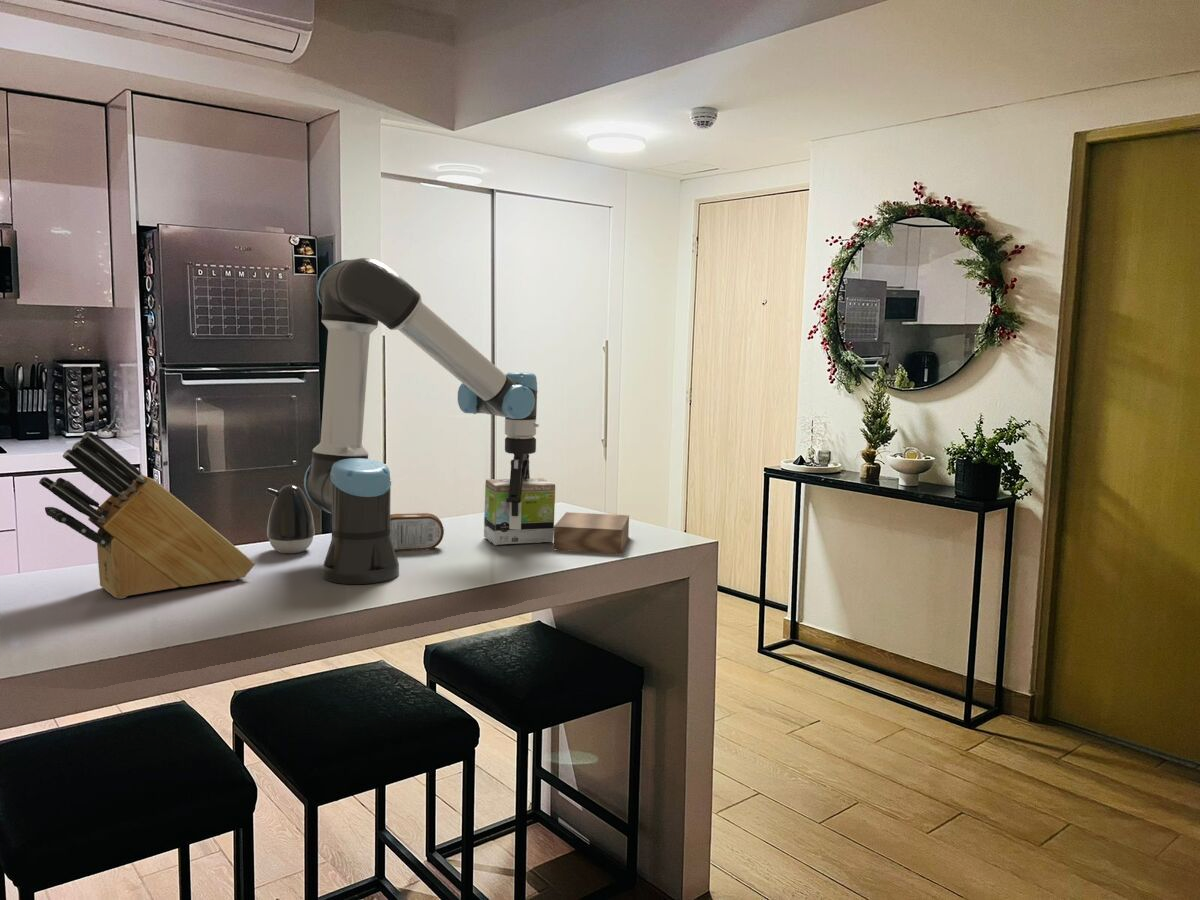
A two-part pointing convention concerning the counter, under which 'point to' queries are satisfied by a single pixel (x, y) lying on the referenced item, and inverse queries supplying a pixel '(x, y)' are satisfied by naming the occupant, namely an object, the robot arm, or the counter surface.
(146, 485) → the knife block
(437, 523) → the tin
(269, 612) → the counter surface
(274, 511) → the pump dispenser
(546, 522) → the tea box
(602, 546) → the walnut block
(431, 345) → the robot arm
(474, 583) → the counter surface
